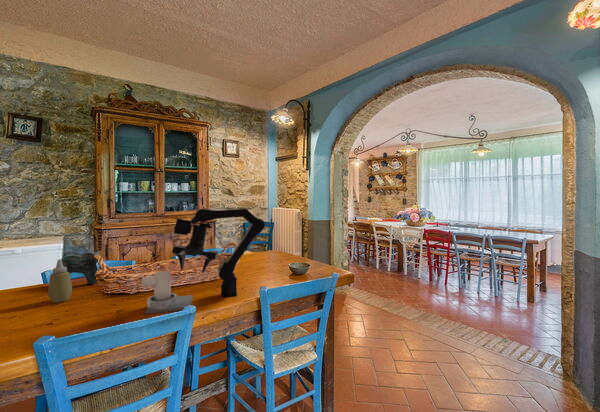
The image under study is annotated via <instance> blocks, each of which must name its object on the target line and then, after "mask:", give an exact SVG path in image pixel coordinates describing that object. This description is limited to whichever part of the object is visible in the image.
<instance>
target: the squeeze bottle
mask: <svg viewBox="0 0 600 412" xmlns="http://www.w3.org/2000/svg"><path fill="white" fill-rule="evenodd" d="M61 259H62V258H59V259H57V261H56V266H55V267H53V268H52V273H51V274H50V275H49V282H48V293H47V295H48V298H49V299H50V301H51V303H62V302H66V301H69V300H70V298H71V297H72V296H71V295H72V292H73V285H72V280H71V279H72V278H71V274H70V273H69V272H67V267H64V266H63V263H62V260H61Z"/></svg>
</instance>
